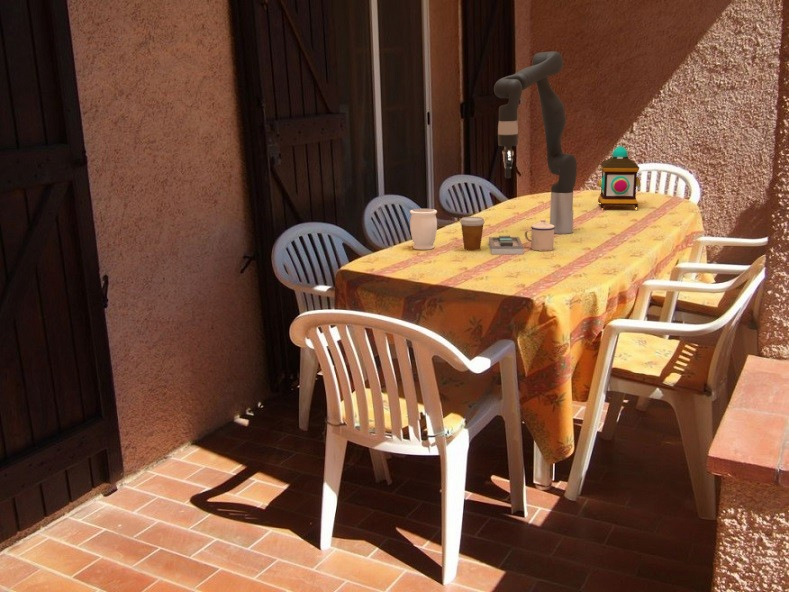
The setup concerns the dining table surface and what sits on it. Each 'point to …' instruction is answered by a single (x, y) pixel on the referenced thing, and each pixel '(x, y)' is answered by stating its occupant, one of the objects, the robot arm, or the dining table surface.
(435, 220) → the jar
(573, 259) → the dining table surface
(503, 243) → the dark taupe block
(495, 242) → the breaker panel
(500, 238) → the teal rectangular box
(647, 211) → the dining table surface
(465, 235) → the disposable coffee cup
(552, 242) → the teacup with lid
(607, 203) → the decorative lantern
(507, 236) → the grey rectangular prism
